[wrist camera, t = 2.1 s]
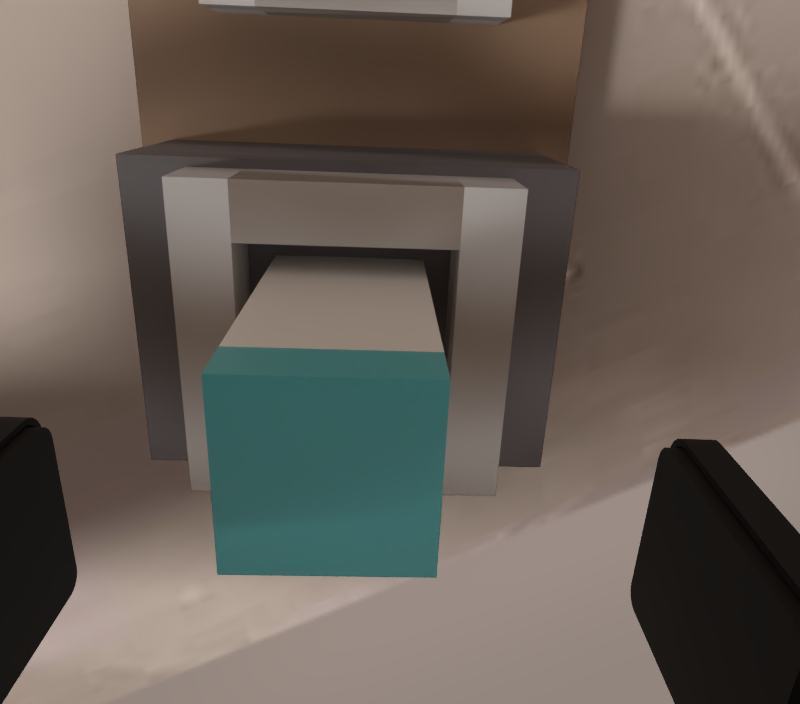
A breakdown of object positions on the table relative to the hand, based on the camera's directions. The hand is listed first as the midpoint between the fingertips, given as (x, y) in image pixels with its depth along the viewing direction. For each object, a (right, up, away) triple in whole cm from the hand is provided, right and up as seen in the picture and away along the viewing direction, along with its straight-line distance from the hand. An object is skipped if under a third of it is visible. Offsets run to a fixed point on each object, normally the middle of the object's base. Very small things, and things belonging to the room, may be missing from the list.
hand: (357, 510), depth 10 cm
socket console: (-1, +12, +12) cm, 17 cm away
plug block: (-1, +3, +9) cm, 9 cm away
